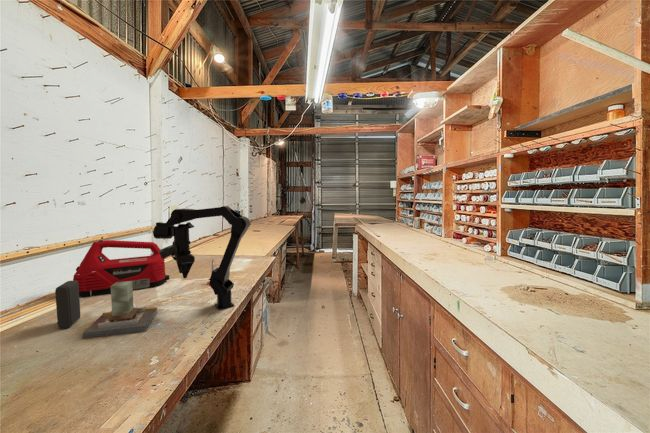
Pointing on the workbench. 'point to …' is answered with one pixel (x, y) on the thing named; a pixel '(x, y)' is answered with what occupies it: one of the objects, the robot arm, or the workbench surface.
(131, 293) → the layered pillar on plinth
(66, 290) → the card reader
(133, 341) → the workbench surface
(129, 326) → the dock plate
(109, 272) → the power tool
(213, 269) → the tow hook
